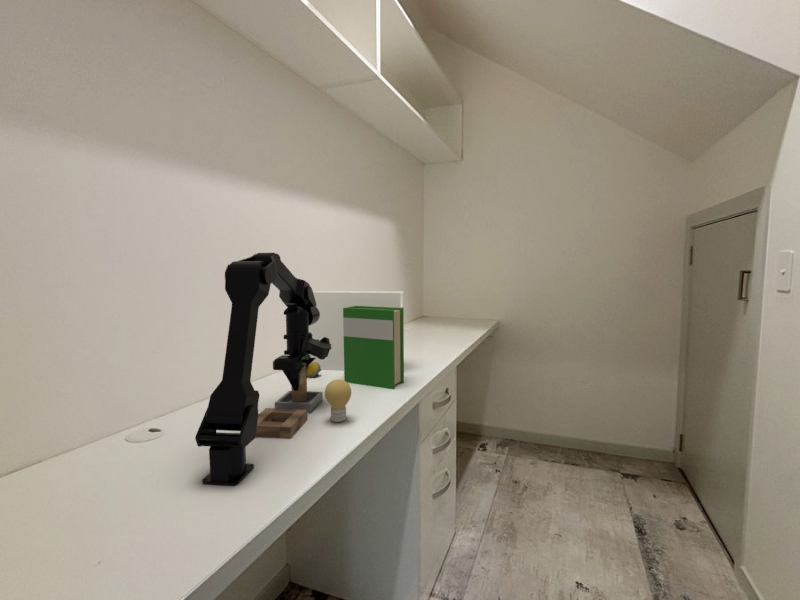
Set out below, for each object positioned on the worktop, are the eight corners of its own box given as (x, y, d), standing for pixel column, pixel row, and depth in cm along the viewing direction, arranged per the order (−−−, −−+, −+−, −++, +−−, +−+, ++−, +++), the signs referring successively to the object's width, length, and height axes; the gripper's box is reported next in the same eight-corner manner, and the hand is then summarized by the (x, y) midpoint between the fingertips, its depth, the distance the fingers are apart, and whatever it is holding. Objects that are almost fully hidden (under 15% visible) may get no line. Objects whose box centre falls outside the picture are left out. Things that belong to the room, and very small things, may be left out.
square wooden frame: (290, 438, 86) (290, 427, 86) (245, 436, 87) (244, 425, 87) (307, 419, 97) (307, 409, 96) (266, 418, 98) (266, 408, 98)
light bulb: (350, 425, 93) (350, 383, 92) (323, 426, 93) (322, 384, 92) (352, 415, 99) (352, 376, 98) (327, 415, 99) (326, 376, 98)
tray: (311, 413, 101) (310, 403, 100) (275, 412, 102) (274, 402, 101) (322, 400, 110) (322, 391, 110) (289, 399, 111) (289, 390, 111)
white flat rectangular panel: (305, 369, 143) (303, 292, 141) (313, 363, 151) (311, 290, 149) (400, 373, 137) (399, 292, 135) (404, 367, 145) (403, 291, 143)
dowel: (304, 403, 103) (303, 366, 103) (289, 403, 104) (288, 365, 103) (309, 398, 107) (308, 362, 107) (295, 398, 108) (294, 362, 107)
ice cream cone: (324, 378, 134) (307, 362, 127) (311, 383, 135) (293, 368, 128) (325, 365, 138) (308, 349, 131) (312, 371, 139) (294, 356, 132)
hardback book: (403, 382, 126) (403, 307, 124) (393, 389, 120) (392, 310, 117) (356, 376, 134) (355, 305, 132) (344, 382, 127) (343, 308, 125)
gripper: (315, 336, 94) (317, 401, 95) (337, 325, 112) (338, 378, 114) (270, 336, 95) (273, 399, 96) (299, 324, 114) (300, 377, 115)
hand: (299, 388), depth 105 cm, fingers closed on dowel, 4 cm apart
